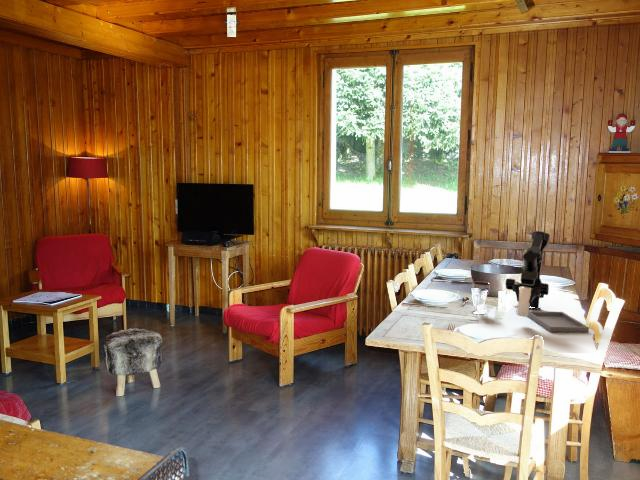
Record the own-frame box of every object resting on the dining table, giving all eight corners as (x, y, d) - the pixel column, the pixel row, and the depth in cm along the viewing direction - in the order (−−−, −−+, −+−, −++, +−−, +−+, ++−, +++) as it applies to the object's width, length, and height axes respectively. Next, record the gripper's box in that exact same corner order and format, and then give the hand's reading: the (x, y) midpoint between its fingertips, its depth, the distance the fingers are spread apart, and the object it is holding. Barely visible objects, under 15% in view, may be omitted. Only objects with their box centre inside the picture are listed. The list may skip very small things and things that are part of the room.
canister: (515, 313, 265) (517, 286, 263) (525, 313, 265) (528, 286, 263) (519, 316, 260) (522, 289, 258) (530, 316, 261) (533, 289, 258)
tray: (526, 316, 278) (526, 311, 278) (561, 316, 280) (562, 311, 279) (549, 332, 255) (550, 327, 254) (588, 332, 256) (588, 327, 256)
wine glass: (486, 316, 276) (489, 285, 274) (469, 313, 279) (472, 283, 276) (488, 311, 283) (490, 282, 281) (471, 309, 286) (474, 280, 284)
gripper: (508, 261, 267) (501, 289, 259) (550, 266, 258) (545, 295, 250) (509, 274, 275) (503, 302, 267) (550, 280, 266) (545, 308, 258)
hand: (523, 301), depth 260 cm, fingers closed on canister, 5 cm apart
